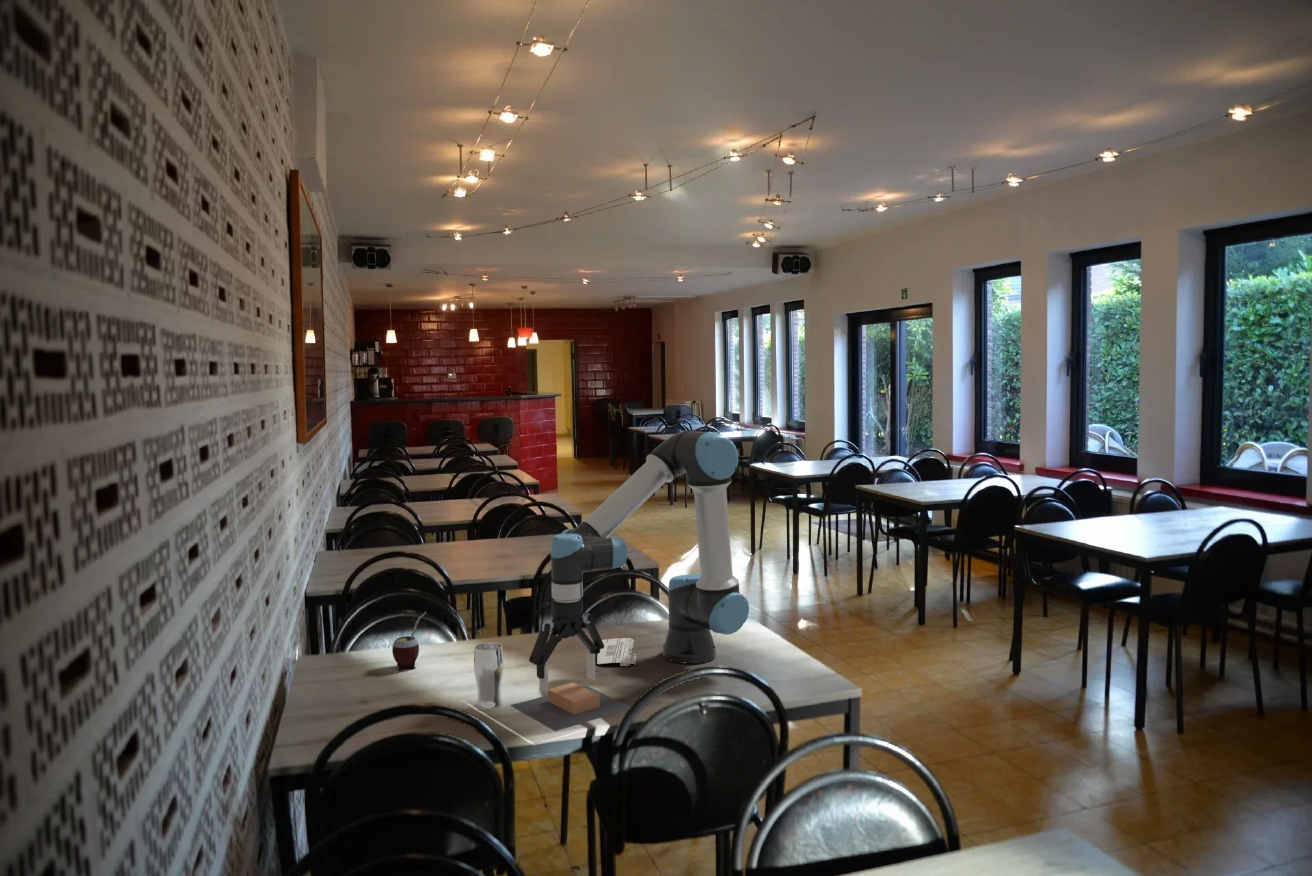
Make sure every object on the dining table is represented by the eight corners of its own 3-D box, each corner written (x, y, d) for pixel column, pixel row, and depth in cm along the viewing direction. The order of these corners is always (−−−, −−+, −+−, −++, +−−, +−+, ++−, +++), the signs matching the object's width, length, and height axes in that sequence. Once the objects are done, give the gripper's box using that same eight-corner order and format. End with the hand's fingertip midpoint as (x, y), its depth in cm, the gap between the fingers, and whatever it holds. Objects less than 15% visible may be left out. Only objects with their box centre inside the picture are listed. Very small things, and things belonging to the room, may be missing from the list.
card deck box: (572, 682, 226) (599, 694, 218) (573, 694, 227) (599, 706, 218) (547, 689, 222) (574, 702, 213) (547, 701, 222) (574, 714, 213)
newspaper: (636, 669, 248) (635, 660, 248) (591, 673, 249) (590, 664, 249) (640, 643, 271) (639, 635, 271) (599, 647, 271) (598, 639, 271)
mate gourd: (387, 669, 246) (385, 615, 245) (407, 661, 253) (406, 608, 252) (408, 673, 243) (406, 618, 242) (428, 665, 250) (427, 611, 249)
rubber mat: (585, 686, 233) (585, 685, 233) (633, 709, 218) (633, 707, 218) (510, 706, 219) (510, 705, 219) (555, 732, 204) (555, 731, 204)
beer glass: (505, 701, 223) (504, 641, 222) (501, 712, 216) (501, 650, 215) (477, 702, 222) (476, 642, 221) (472, 712, 216) (471, 650, 214)
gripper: (600, 587, 230) (600, 669, 232) (514, 604, 214) (515, 691, 216) (617, 593, 224) (618, 677, 226) (530, 610, 209) (531, 700, 210)
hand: (567, 684), depth 221 cm, fingers open, 13 cm apart
